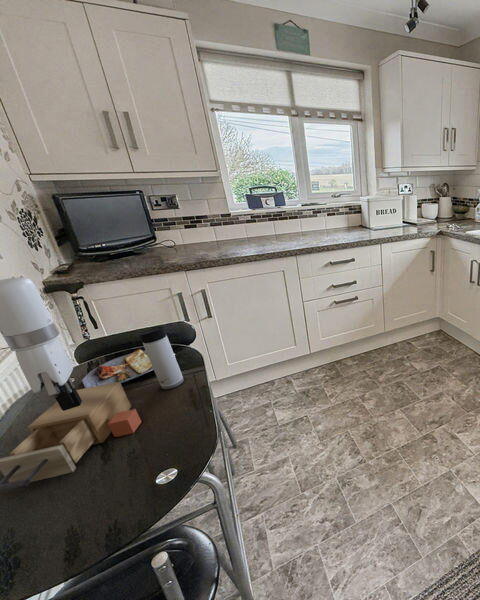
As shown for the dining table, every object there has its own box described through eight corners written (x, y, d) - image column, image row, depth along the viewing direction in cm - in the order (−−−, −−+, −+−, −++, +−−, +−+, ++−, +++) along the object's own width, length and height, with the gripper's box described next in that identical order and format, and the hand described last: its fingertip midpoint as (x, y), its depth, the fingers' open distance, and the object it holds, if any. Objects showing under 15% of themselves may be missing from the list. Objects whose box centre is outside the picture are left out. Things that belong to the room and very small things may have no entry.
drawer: (51, 498, 67) (35, 473, 65) (-16, 515, 65) (-36, 490, 63) (106, 430, 86) (95, 409, 83) (55, 441, 83) (42, 420, 81)
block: (133, 433, 85) (127, 419, 84) (114, 437, 85) (107, 423, 83) (141, 421, 89) (135, 408, 88) (123, 425, 89) (116, 412, 87)
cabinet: (103, 442, 83) (88, 414, 80) (44, 455, 80) (26, 427, 77) (131, 406, 96) (119, 381, 93) (81, 416, 94) (68, 391, 91)
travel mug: (164, 392, 102) (140, 335, 94) (159, 385, 106) (136, 330, 99) (186, 382, 106) (165, 327, 99) (180, 375, 110) (160, 322, 103)
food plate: (80, 376, 116) (76, 367, 114) (156, 348, 132) (153, 340, 130) (92, 402, 100) (87, 393, 99) (177, 367, 116) (173, 358, 115)
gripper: (21, 330, 73) (59, 397, 79) (-8, 356, 61) (40, 432, 68) (66, 320, 77) (99, 385, 83) (47, 342, 65) (87, 416, 71)
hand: (72, 406), depth 75 cm, fingers closed
